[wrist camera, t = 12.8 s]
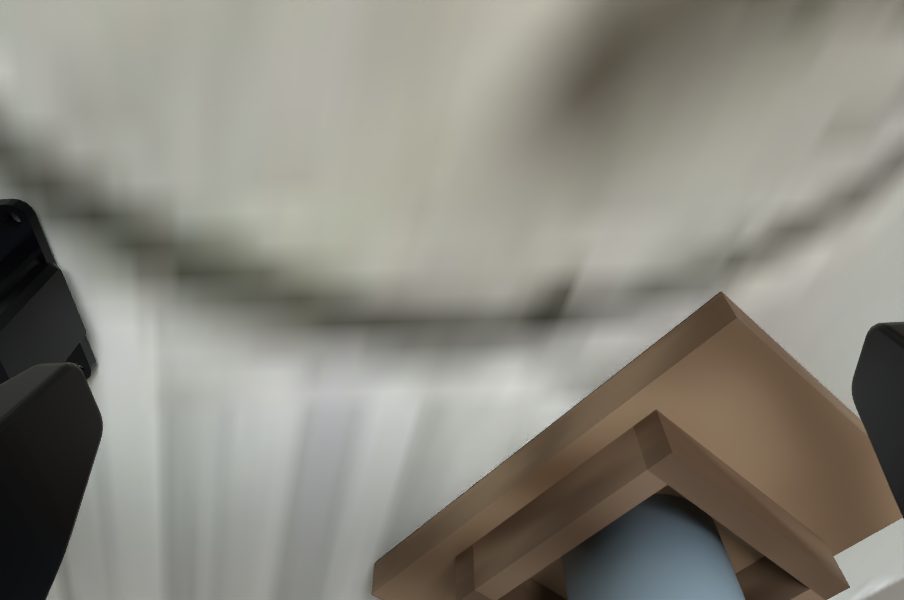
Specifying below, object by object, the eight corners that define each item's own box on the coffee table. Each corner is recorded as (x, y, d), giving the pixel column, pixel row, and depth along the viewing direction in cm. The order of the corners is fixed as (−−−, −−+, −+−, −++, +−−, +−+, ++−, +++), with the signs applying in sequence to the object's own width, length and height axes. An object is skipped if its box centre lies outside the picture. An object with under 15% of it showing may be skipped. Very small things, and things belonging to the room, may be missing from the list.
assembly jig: (570, 669, 34) (581, 746, 31) (374, 563, 30) (366, 640, 27) (913, 468, 27) (970, 544, 24) (721, 291, 23) (761, 357, 20)
